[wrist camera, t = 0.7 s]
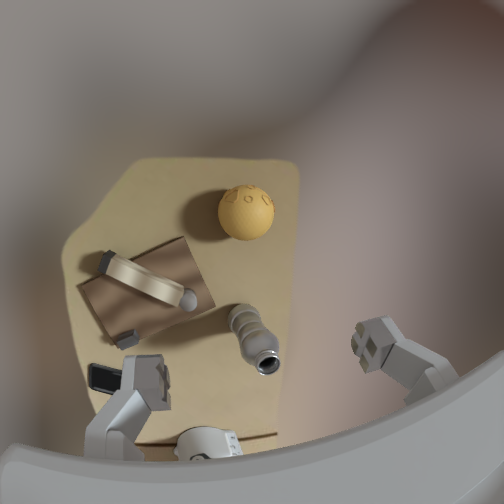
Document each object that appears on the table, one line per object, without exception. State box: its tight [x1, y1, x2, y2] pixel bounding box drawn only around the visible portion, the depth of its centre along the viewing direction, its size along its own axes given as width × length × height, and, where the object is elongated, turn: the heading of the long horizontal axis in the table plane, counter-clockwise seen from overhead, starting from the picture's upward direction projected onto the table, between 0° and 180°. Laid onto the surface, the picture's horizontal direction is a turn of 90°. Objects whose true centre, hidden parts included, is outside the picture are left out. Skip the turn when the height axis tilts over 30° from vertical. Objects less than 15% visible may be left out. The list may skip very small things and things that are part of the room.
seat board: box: [82, 236, 216, 350], centre depth 52 cm, size 15×23×5 cm, turn 111°
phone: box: [89, 363, 122, 395], centre depth 56 cm, size 8×1×15 cm
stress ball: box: [218, 185, 275, 241], centre depth 50 cm, size 10×10×10 cm
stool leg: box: [98, 250, 197, 312], centre depth 49 cm, size 19×3×4 cm, turn 61°
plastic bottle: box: [228, 304, 281, 375], centre depth 50 cm, size 6×7×20 cm
